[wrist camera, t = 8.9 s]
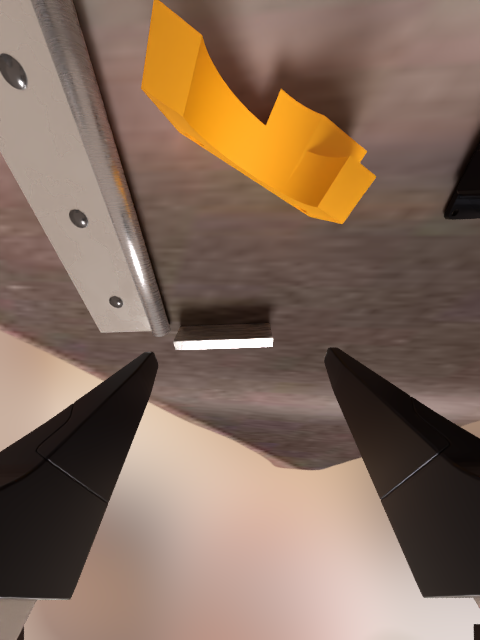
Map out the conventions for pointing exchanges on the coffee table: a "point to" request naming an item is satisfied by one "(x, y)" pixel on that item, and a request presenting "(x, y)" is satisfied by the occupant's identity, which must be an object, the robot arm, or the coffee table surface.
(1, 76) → the hinge bed
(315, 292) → the coffee table surface
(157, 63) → the pipe clamp
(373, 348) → the coffee table surface
